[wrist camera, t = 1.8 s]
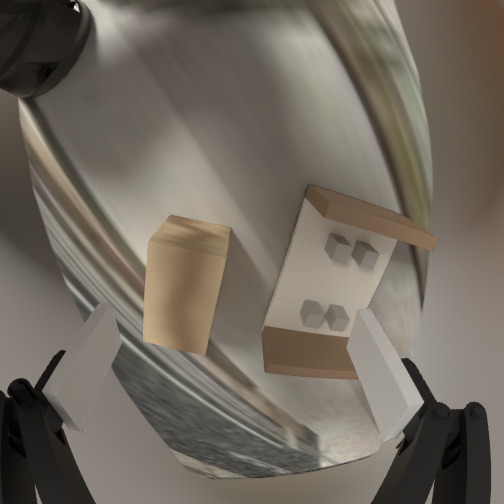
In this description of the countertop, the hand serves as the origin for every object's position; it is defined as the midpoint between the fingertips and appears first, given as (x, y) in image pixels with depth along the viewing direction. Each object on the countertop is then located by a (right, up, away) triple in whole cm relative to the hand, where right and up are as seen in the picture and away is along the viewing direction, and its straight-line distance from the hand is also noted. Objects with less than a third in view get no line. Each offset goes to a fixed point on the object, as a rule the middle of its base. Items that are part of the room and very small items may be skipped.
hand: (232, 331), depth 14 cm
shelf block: (-6, +2, +19) cm, 20 cm away
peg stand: (+11, +1, +20) cm, 23 cm away
